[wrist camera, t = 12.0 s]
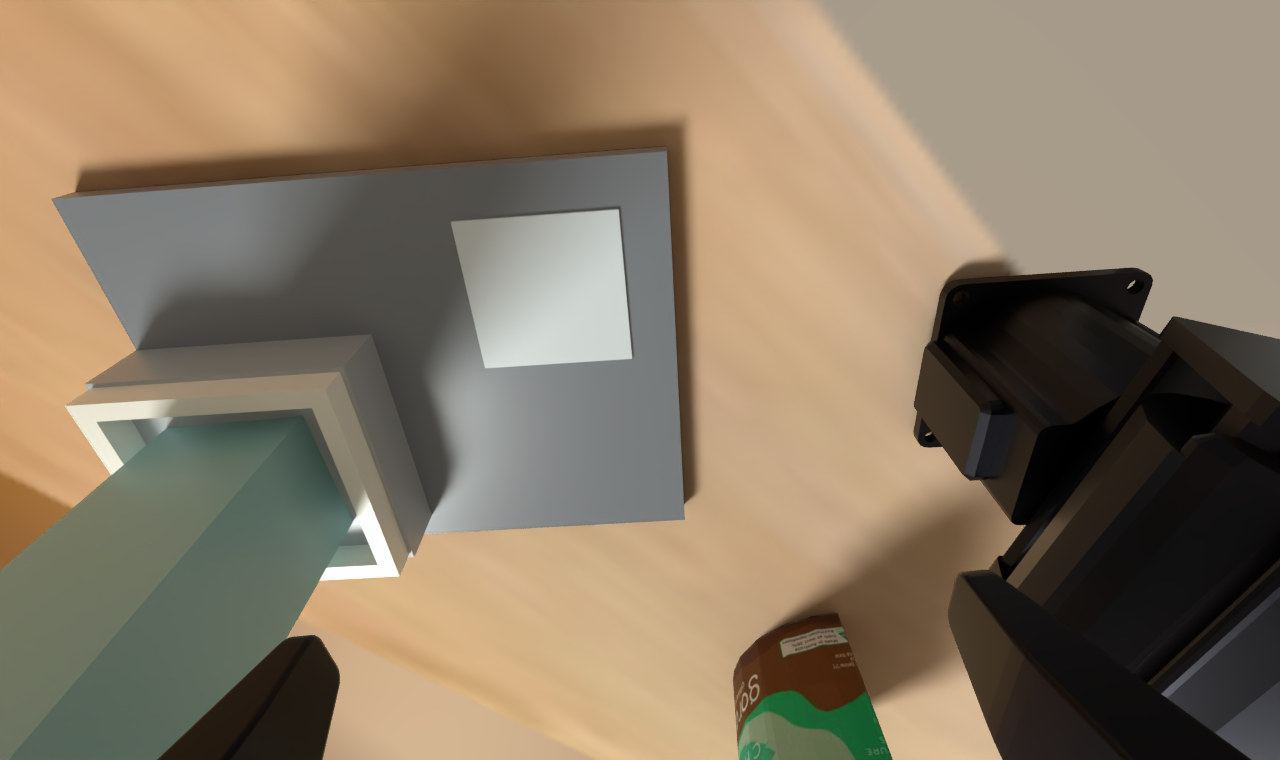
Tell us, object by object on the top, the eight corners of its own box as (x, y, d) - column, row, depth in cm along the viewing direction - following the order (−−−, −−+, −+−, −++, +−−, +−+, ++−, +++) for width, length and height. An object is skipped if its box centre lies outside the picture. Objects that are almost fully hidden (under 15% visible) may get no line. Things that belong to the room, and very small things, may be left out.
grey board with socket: (665, 146, 18) (672, 175, 14) (683, 505, 25) (690, 583, 21) (73, 192, 18) (-58, 231, 15) (256, 529, 25) (196, 609, 22)
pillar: (303, 415, 19) (-270, 1084, 7) (353, 521, 21) (-15, 1161, 9) (166, 428, 19) (-616, 1097, 7) (230, 531, 21) (-282, 1168, 9)
